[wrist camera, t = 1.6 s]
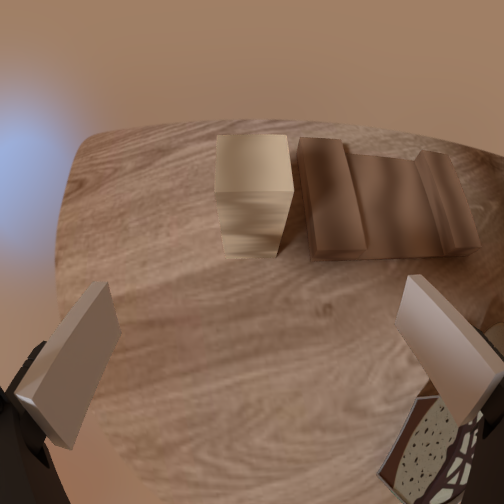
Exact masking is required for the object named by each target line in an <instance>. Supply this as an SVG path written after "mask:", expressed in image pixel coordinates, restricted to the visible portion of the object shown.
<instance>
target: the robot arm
mask: <svg viewBox="0 0 504 504" xmlns="http://www.w3.org/2000/svg"><path fill="white" fill-rule="evenodd" d="M394 325H395V326H396V328H397V329H398V331H399V332H400V334H401V335H402V337H403V338H404V340H405V341H406V343H407V344H408V346H409V347H410V349H411V350H412V352H413V353H414V355H415V356H416V358H417V359H418V361H419V362H420V364H421V365H422V367H423V369H424V370H425V372H426V373H427V375H428V377H429V378H430V380H431V381H432V383H433V385H434V386H435V388H436V390H437V391H438V393H439V395H440V396H441V398H442V400H443V401H444V403H445V405H446V406H447V408H448V410H449V412H450V413H451V415H452V417H453V419H454V420H455V422H456V424H457V426H458V427H460V426H462V425H464V424H466V423H469V422H471V421H472V420H473V419H474V418H475V417H476V415H477V414H478V413H479V411H481V412H482V414H483V416H482V417H481V419H480V420H479V421H478V422H477V423H476V425H475V426H474V427H473V428H472V429H471V431H470V435H472V434H473V433H474V431H475V430H476V429H477V428H478V432H477V433H476V434H475V436H477V439H476V444H475V450H474V455H473V460H472V464H471V468H470V472H469V476H468V480H467V484H466V487H465V491H464V494H463V498H462V501H461V504H504V356H503V355H502V354H501V353H500V352H499V351H498V349H497V348H496V347H494V345H493V344H492V343H491V341H489V339H488V338H487V337H486V336H485V335H484V334H483V333H482V331H480V330H479V329H477V328H475V327H474V326H472V325H471V324H470V323H469V322H468V321H467V320H466V319H465V318H464V317H463V316H462V315H461V314H460V313H459V312H458V311H457V309H456V308H455V307H454V306H453V305H452V304H451V303H450V302H449V301H448V300H447V299H446V298H445V297H444V296H443V295H442V294H441V293H440V292H439V291H438V290H437V289H436V288H435V287H434V286H433V285H432V284H430V283H429V282H428V281H427V280H426V279H425V278H424V277H423V276H422V275H421V274H418V275H408V277H407V281H406V285H405V289H404V293H403V296H402V300H401V304H400V307H399V311H398V314H397V317H396V321H395V324H394ZM121 333H122V332H121V329H120V326H119V322H118V319H117V315H116V312H115V308H114V304H113V301H112V297H111V293H110V289H109V285H108V282H92V283H91V285H90V286H89V287H88V288H87V289H86V291H85V292H84V293H83V294H82V296H81V297H80V298H79V300H78V301H77V302H76V303H75V305H74V306H73V307H72V309H71V310H70V311H69V312H68V314H67V315H66V316H65V318H64V319H63V320H62V322H61V323H60V325H59V326H58V327H57V329H56V330H55V331H54V333H53V334H52V336H51V337H50V338H49V340H48V341H43V342H42V343H40V344H39V345H38V346H37V347H35V348H34V349H33V351H32V352H31V354H30V355H29V356H28V360H26V361H25V362H24V364H23V367H21V368H20V370H19V371H18V373H17V374H16V376H15V377H14V379H13V380H12V382H11V384H10V386H9V387H8V389H7V390H6V392H5V393H4V391H3V390H2V388H1V387H0V504H70V501H69V499H68V497H67V495H66V493H65V491H64V489H63V486H62V484H61V481H60V479H59V477H58V474H57V472H56V470H55V467H54V464H53V462H52V459H51V456H50V453H49V450H48V448H47V446H46V444H45V443H44V440H45V438H46V436H47V437H48V438H49V439H50V440H51V441H52V443H53V444H54V445H56V446H59V447H62V448H65V449H69V450H72V449H73V446H74V444H75V441H76V438H77V436H78V433H79V430H80V427H81V425H82V422H83V420H84V417H85V414H86V412H87V410H88V407H89V405H90V402H91V400H92V398H93V395H94V393H95V391H96V388H97V386H98V384H99V381H100V379H101V377H102V374H103V372H104V370H105V368H106V365H107V363H108V361H109V359H110V357H111V355H112V352H113V350H114V348H115V346H116V344H117V342H118V340H119V338H120V336H121Z"/></svg>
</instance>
